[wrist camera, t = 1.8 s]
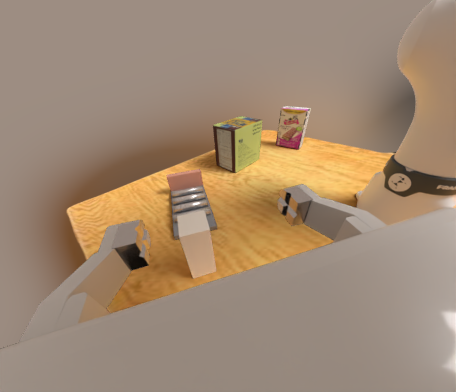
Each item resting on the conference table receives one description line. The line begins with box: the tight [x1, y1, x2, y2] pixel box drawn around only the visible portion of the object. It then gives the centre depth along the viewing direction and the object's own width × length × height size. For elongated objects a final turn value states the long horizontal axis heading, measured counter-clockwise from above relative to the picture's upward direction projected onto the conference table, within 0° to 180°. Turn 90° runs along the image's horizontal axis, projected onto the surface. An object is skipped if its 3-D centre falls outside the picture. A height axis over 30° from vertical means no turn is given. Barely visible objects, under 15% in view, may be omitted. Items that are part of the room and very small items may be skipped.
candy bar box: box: [276, 106, 311, 149], centre depth 75 cm, size 11×5×16 cm, turn 55°
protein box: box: [213, 116, 262, 173], centre depth 64 cm, size 10×15×16 cm
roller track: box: [167, 169, 217, 240], centre depth 45 cm, size 10×20×6 cm, turn 17°
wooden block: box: [177, 210, 216, 279], centre depth 30 cm, size 4×4×12 cm
